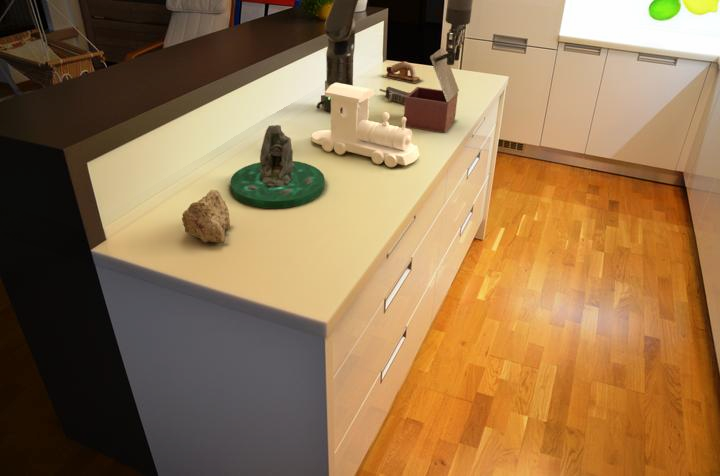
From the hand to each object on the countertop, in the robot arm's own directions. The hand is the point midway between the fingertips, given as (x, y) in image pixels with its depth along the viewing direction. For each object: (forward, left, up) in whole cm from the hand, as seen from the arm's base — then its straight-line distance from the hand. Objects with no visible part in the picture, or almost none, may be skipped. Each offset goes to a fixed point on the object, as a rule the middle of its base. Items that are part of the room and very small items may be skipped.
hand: (452, 62), depth 191 cm
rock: (-81, -52, -21) cm, 98 cm away
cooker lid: (-2, +2, -4) cm, 5 cm away
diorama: (-63, -32, -21) cm, 74 cm away
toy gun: (-1, +25, -21) cm, 33 cm away
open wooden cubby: (-5, +4, -21) cm, 22 cm away
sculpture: (+5, +56, -21) cm, 60 cm away
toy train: (-34, -15, -21) cm, 43 cm away
